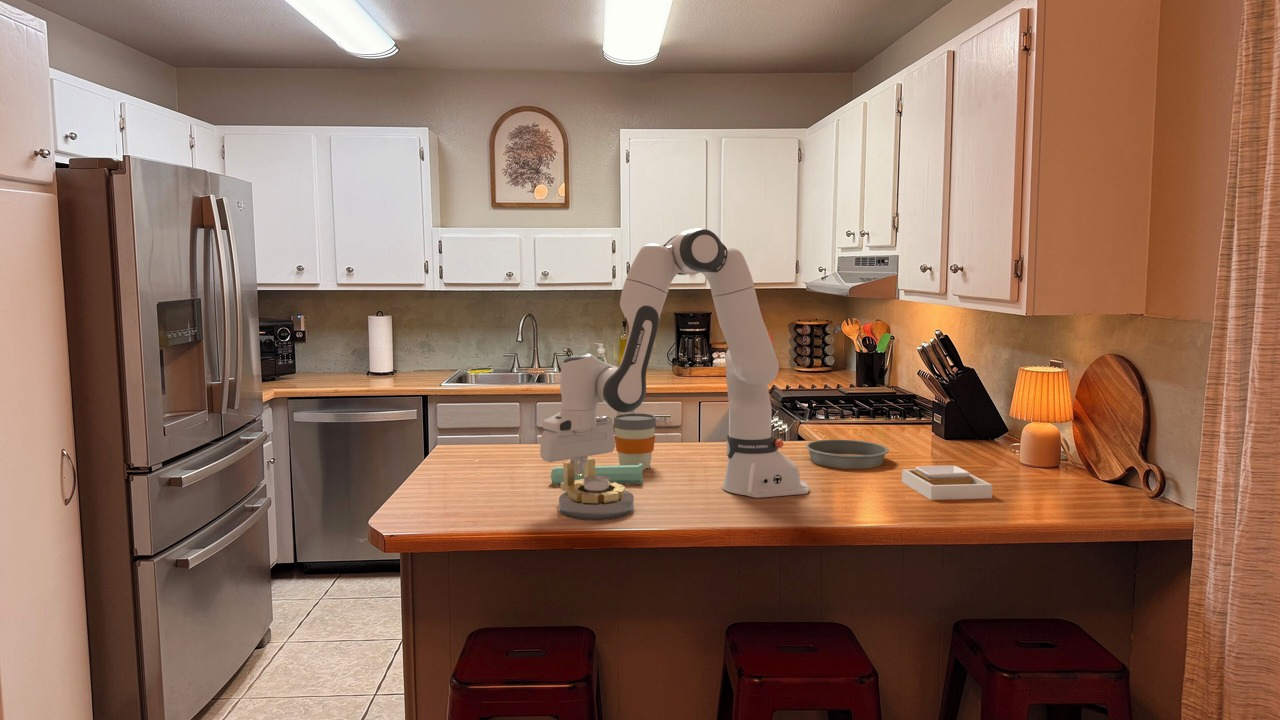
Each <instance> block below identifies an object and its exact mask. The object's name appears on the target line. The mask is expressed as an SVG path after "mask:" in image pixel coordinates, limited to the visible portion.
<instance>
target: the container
mask: <svg viewBox="0 0 1280 720" xmlns="http://www.w3.org/2000/svg"><path fill="white" fill-rule="evenodd" d="M574 472H575V468H574ZM595 476H605V477H608V478H609V482H610V483H618V484H621V485H626V484H625V483H629V485H630V484H631V485H632V484H633V485H635V484H636V485H638V484H644V483H643V470H642V463H639V465H623V466H620V465H595ZM550 479H551V484H553V485H555V484H556V486H557V485H558V484H560V483H562V482H564V480H563V466H555V467H553V468H552V469H551V471H550ZM580 479H584V474H582V475H575V480H580ZM558 486H559V485H558Z"/></svg>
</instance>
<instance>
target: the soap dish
mask: <svg viewBox="0 0 1280 720" xmlns="http://www.w3.org/2000/svg"><path fill="white" fill-rule="evenodd" d="M915 469H916V470H915V471H913V474H915V475H916V476H918V477H920V478H922V479H923V480H925V481H927V482H929V483H931V484H932V485H960V484H971V482H972V480H973V478H972V477H970V476H969V474H971V472H969V471H967V470H965V469H963V468H961V467H958V466H957V465H928V466H927V465H926V466H916V467H915Z"/></svg>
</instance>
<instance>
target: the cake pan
mask: <svg viewBox="0 0 1280 720" xmlns="http://www.w3.org/2000/svg"><path fill="white" fill-rule="evenodd" d="M805 448H806V449H807V450H808V453H809V457H810V461H811V462H813V463H814V464H817V465H819V466H823V467H829V468H837V469H846V470H851V469H852V470H853V469H854V470H858V469H859V470H861V469H862V470H863V469H871V468H872V469H873V468H876V467H879V466H882V464H883V463H884V458H885V456H886V455H887V454H888V453H889V451H890V450H889V448H888V447H886V446H884V445H882V444H879V443H876V442H875V443H874V442H870V441H866V440H865V441H862V440H854V439H821V440H814V441H810V442H808V443H806V445H805Z"/></svg>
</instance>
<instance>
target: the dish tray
mask: <svg viewBox="0 0 1280 720" xmlns="http://www.w3.org/2000/svg"><path fill="white" fill-rule="evenodd" d="M915 470H916V468H909V469H908V468H906V469H901V483H903V484H904V485H906V486H907V487H909V488H910V489H912V490H914V491H916V492H917V493H919V494H920V495H922V496H924V497H926V498H927V499H929V500H930V501H937V500H938V501H939V500H942V501H943V500H972V499H973V500H975V499H977V500H978V499H992V498H993V484H992V483H989V482H988V481H986V480H984V479H982V478H979V477H977V476H975V475H974V474H972V473H970V474H969V476H970V477H972V478H973V480H972V482H971V484H960V485H932V484H931V483H929V482H927V481H925V480H923V479H922V478H920V477H918V476H916V475H915V474H913V471H915Z"/></svg>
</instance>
